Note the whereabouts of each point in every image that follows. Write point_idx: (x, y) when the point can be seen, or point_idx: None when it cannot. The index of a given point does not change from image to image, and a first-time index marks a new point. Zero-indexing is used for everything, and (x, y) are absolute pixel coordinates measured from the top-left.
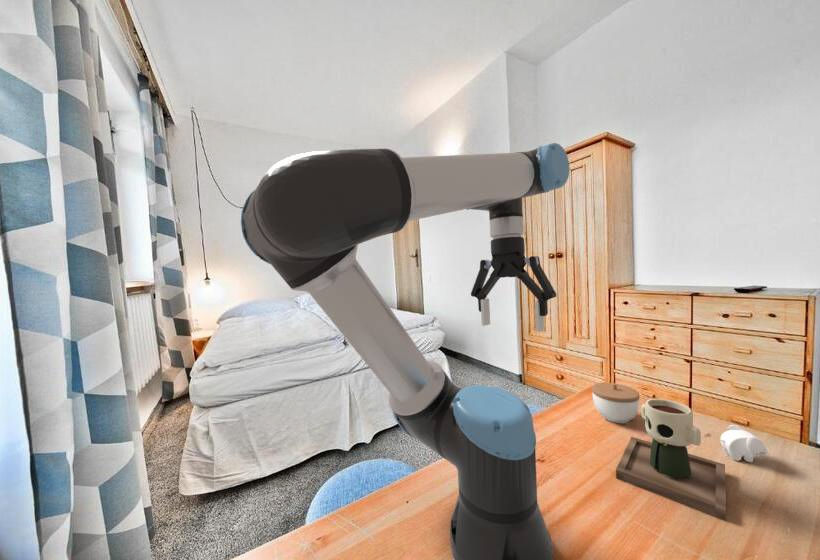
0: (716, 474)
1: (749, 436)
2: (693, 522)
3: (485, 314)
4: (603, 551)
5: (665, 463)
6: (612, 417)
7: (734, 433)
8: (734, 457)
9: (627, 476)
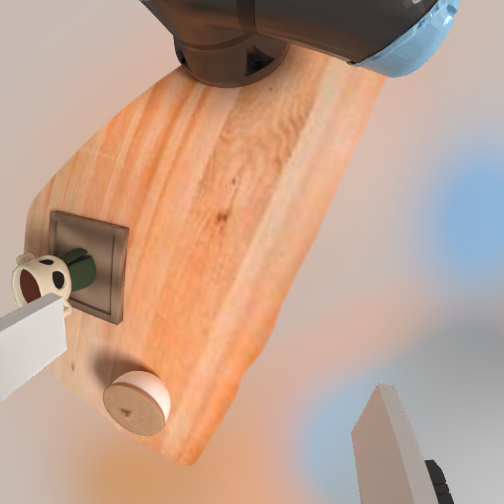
0: None
1: None
2: (75, 191)
3: (384, 448)
4: (139, 97)
5: (75, 253)
6: (145, 372)
7: None
8: None
9: (114, 226)
